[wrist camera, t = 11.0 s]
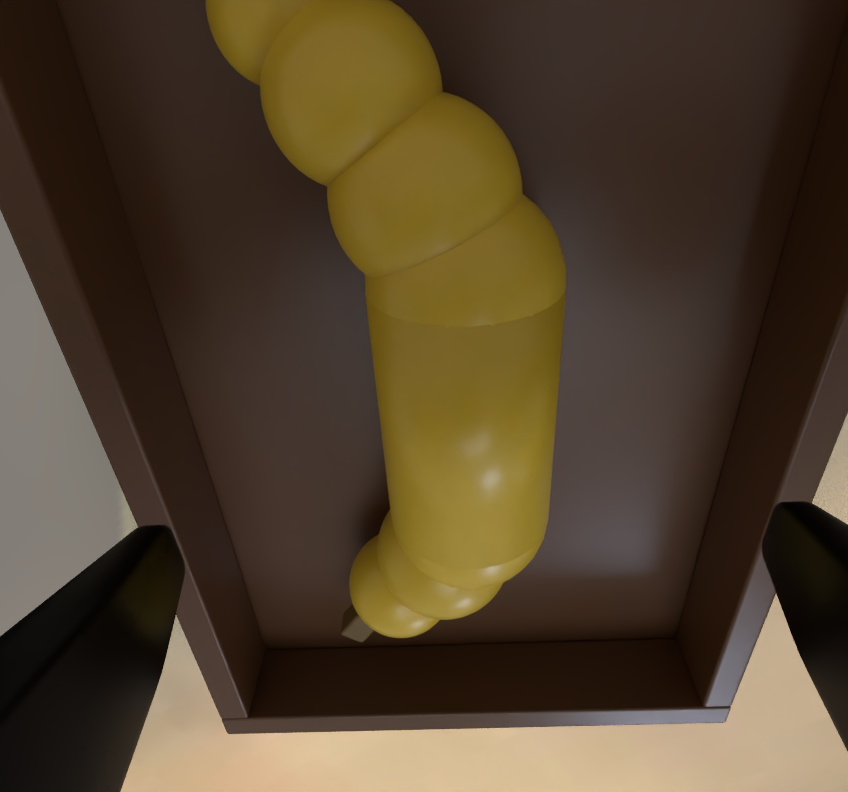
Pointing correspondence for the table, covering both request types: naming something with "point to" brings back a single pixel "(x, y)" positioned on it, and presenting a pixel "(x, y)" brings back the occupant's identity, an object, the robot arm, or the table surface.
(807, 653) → the robot arm
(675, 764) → the table surface
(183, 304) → the tray
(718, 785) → the table surface
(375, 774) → the table surface
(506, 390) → the banana
